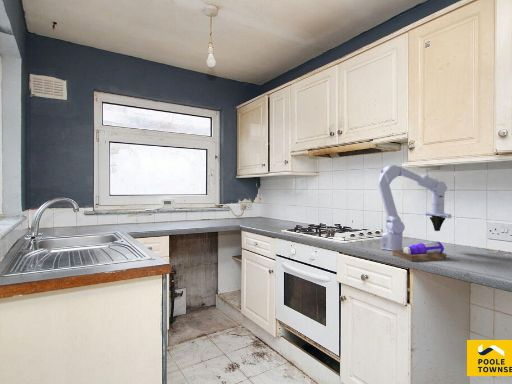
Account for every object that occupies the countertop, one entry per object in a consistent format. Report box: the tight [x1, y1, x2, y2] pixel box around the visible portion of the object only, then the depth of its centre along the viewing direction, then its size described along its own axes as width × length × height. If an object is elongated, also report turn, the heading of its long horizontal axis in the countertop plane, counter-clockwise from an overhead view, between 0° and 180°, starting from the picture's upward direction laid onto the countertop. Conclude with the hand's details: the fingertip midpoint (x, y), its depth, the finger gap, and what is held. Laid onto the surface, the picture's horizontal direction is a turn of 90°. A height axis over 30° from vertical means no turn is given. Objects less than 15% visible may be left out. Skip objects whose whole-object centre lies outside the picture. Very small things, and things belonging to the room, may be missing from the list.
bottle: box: [403, 241, 445, 255], centre depth 141 cm, size 7×6×17 cm
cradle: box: [392, 250, 447, 262], centre depth 142 cm, size 19×12×2 cm, turn 105°
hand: (437, 230), depth 156 cm, fingers closed
